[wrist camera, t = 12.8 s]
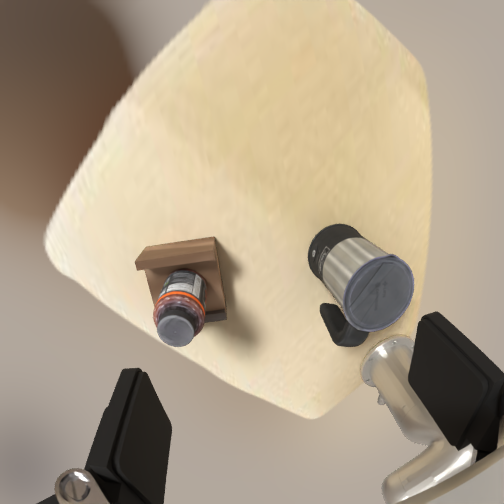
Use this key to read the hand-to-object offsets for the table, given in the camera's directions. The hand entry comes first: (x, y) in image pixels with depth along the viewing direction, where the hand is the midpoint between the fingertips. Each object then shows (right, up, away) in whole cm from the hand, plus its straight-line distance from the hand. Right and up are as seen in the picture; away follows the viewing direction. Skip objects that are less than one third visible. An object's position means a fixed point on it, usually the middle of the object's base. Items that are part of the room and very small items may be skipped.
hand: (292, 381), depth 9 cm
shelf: (-11, 0, +34) cm, 36 cm away
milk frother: (+15, +2, +36) cm, 39 cm away
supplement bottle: (-10, -1, +32) cm, 33 cm away
